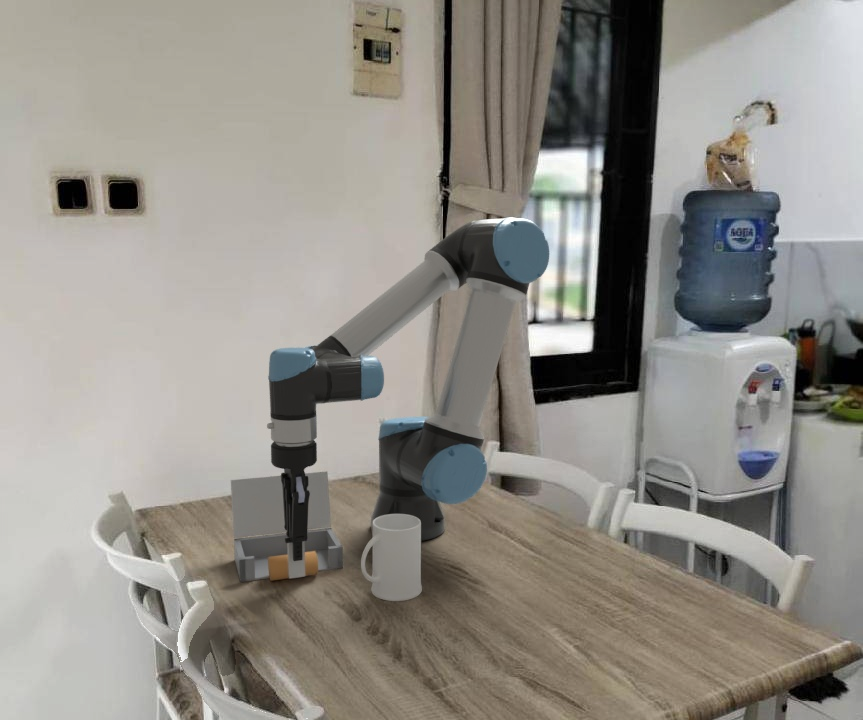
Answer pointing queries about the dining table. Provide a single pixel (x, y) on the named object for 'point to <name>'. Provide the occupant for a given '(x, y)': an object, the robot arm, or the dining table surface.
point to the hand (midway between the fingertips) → (296, 575)
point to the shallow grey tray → (284, 552)
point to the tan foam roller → (280, 566)
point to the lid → (275, 504)
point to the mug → (395, 557)
